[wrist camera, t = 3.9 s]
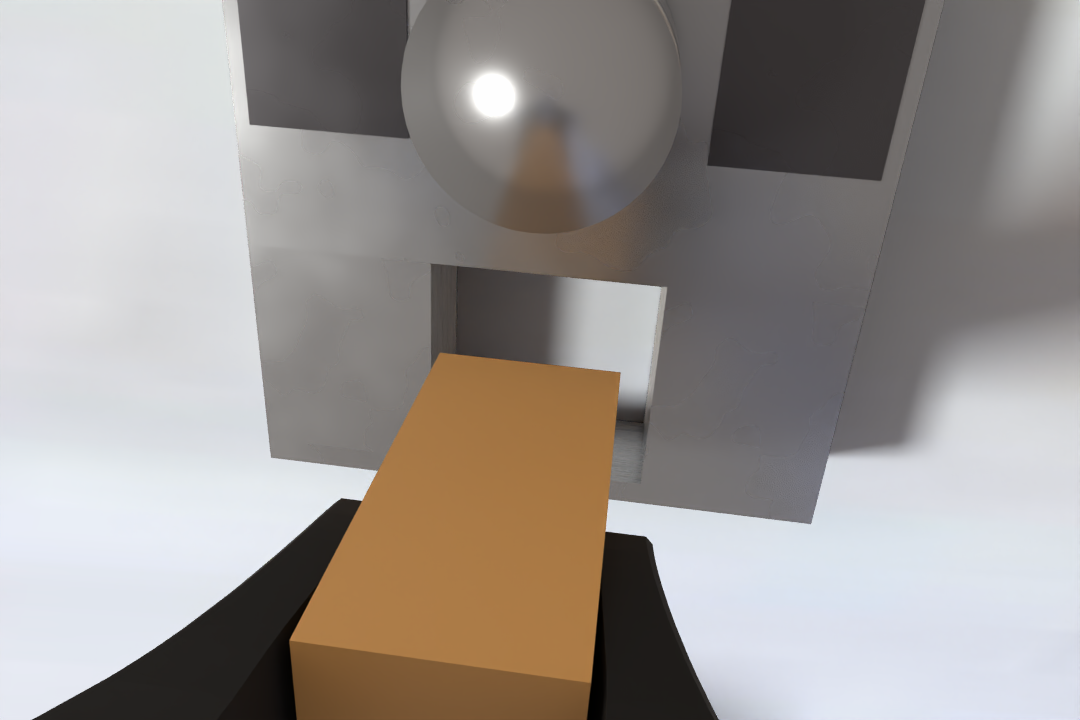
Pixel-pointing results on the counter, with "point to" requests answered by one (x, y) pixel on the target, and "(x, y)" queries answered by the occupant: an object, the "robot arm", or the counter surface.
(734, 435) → the gray tray with knob
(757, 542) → the counter surface
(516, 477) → the orange rectangular box
